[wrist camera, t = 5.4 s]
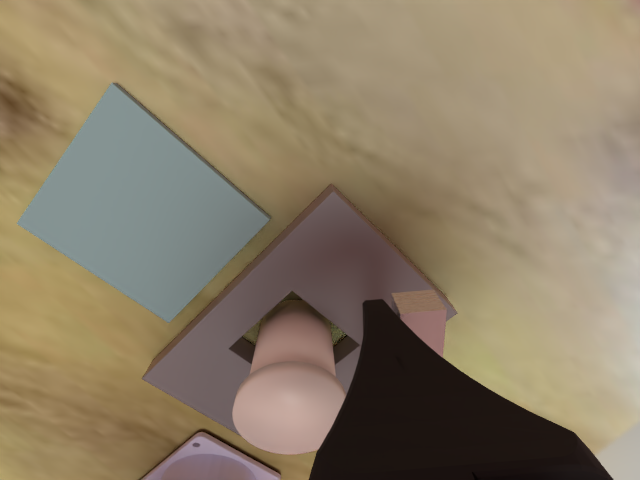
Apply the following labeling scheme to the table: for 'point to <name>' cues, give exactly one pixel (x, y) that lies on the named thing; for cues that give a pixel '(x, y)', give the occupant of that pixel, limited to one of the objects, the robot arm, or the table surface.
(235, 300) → the socket block
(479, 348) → the table surface
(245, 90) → the table surface
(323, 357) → the plug
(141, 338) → the table surface
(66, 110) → the table surface
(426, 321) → the clip
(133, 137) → the mat
